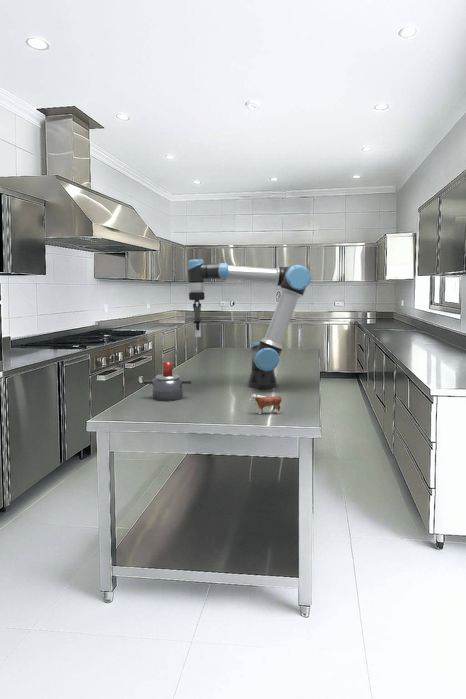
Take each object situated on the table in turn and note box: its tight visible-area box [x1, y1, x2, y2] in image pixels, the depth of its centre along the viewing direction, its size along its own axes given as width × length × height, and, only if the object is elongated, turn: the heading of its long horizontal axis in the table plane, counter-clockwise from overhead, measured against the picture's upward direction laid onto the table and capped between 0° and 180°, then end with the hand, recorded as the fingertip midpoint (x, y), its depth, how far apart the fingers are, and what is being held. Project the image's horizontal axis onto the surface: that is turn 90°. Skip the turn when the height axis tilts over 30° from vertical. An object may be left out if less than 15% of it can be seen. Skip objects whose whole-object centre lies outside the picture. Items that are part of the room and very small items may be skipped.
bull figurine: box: [248, 393, 282, 416], centre depth 228 cm, size 4×13×8 cm, turn 95°
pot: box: [142, 377, 192, 402], centre depth 257 cm, size 22×14×9 cm, turn 92°
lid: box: [155, 360, 181, 381], centre depth 256 cm, size 11×11×8 cm
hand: (197, 335), depth 270 cm, fingers open, 13 cm apart
